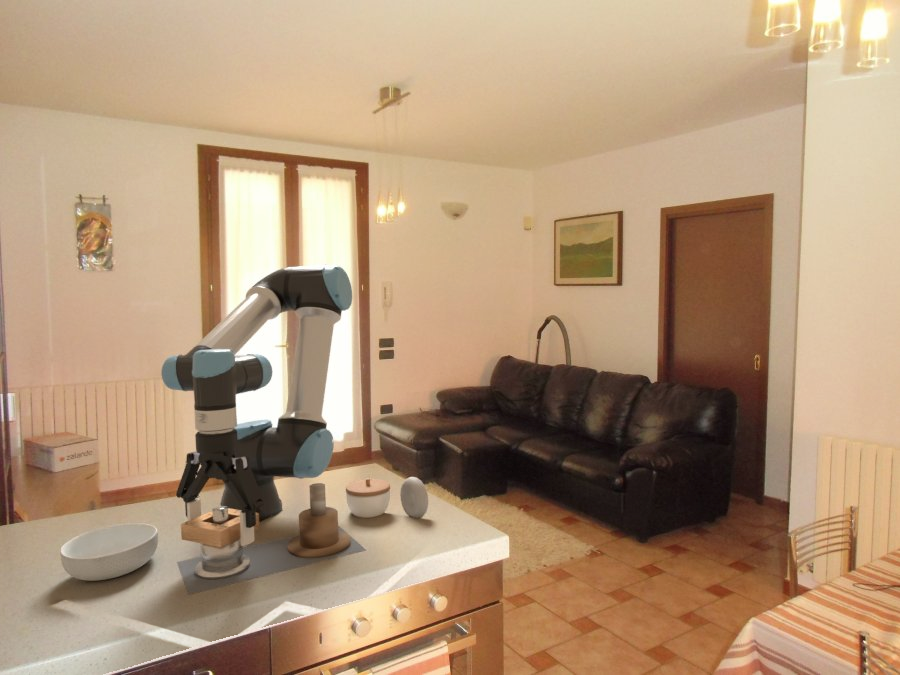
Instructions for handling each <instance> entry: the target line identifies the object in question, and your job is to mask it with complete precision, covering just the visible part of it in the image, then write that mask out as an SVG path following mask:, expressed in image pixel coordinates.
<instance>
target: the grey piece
mask: <svg viewBox="0 0 900 675" xmlns="http://www.w3.org/2000/svg"><path fill="white" fill-rule="evenodd" d="M399 494H400V502H401V506H402V508H403V511H404V513H405V514H406V515H407V516H408V517H409V518H415V519H421V518H423V517H424V516H425V514H426V513H427V511H428V509H429V495H428V490H427V488H426V486H425V483H423V481H422V480H421V479H419V478H418V477H415V476H410V477H408V478H405V479H404V481H403V482H402V483H401V487H400V492H399Z"/></svg>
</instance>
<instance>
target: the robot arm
mask: <svg viewBox="0 0 900 675" xmlns="http://www.w3.org/2000/svg"><path fill="white" fill-rule="evenodd" d="M351 284H352V283H351V280H350V277H349V276H348V274H347V272H346V271H345V269H344V268H343V267H341V266H339V265H328V264H323V265H310V266H309V265H308V266H307V265H306V266H288V267H281V268H280V269H278V270H275V271H273V272H271V273H269V274H268V275H266V276H265V277H263V278H262V279H260V280H258V281H257V282H256V283H255V284H253V285H252V286H251V287H250V288H249V289H248V290H247V291H246V294H245V298H244V300H242V301H241V302H240V303H239V304H238V305H237V306H236V307H235V308H234V309H232V311H231V312H229V314H227V315H226V316H225V317H224V318H223V319H222V320H221V321H220V322H219V323H218V324H217V325H216V326H215V327H213V329H212V330H211V331H209V332H208V333H207V334H206V335H205V336H204V337H203V338H202V339H201V340H200V341H199V342H198V343H197V344H196V345H194V346H193V347H192V348H191V349H190V350H189V351H188V352H187V353H185V354H184V355H183V354H177V355H171V356H169V357H168V358H166V359H165V360H164V362H163V364H162V367H161V372H160V373H161V374H160V375H161V379H162V381H163V383H164V385H165V387H167V388H168V389H170V390H174V391H183V392H193V398H194V400H193V401H194V404H193V406H194V426H195V427H194V428H195V430H196V431H197V432H196V433H195V435H194V436H195V451H192V452H188V453H186V462H185V463H186V464H185V466H184V470H183V473H182V476H181V478H180V481H179V485H178V487H177V490H176V494H175V495H176V497H177V498H179V499H180V498H181V499H183V500H182V501H183V502H184V504H185V505H184V507H185V508H184V509H185V516H186V518H187V521H189V520H192V519H194V518H196V517H199V516H201V515H202V506H201V504H202V502H201V499H200V496H199V494H201V492H202V490H203V489H204V487H205V486H206V484H207V483H208V481H209V480H210V479H216V480H219V481H220V480H222V482H223V483H224V489H223V493H222V496H221V500H220V501H221V502H220V506H227V507H228V508H230V509H236V510H242V511H240V531H241V546H243V547H246V546H249V544H251V543H253V542H255V531H254V526H255V525H256V513H259V523H261V522H264V521H265V520H268V519H269V518H271V517H273V516H275V515H278V514H279V513H281V512H283V511H284V510H283V502H282V499H281V498H280V496H279V492H278V489H277V487H276V484H275V477H281V478H295V479H300V480H301V479H314V478H315V479H316V478H318V477H319V476H321V475H322V474H323V473H324V472H325V471H326V469H327V468H328V466H329V464H330V462H331V459H332V456H333V452H334V444H335V443H334V441H333V440H334V436H333V434H332V432H331V431H330V430H328V428H327V425H328V424H327V422H326V420H325V419H324V418H323V406H324V401H325V400H324V399H325V394H326V387H327V386H326V384H327V380H328V379H327V378H328V372H329V362H330V355H331V349H332V348H331V347H332V341H333V334H334V327H335V324H336V323H338V322H339V321H340V320H341V319H342V312H343V311H347V310H349V309H350V307H351V306H352V301H353V289H352V285H351ZM291 311H293V312H294V315H296V316H297V318H298V320H299V325H298V331H297V335H296V336H297V338H296V344H295V350H294V357H293V361H292V362H293V364H292V370H291V376H290V377H291V378H290V384H289V390H288V396H287V397H288V398H287V404H286V409H285V413H284V414H282V415H280V417H278V420H277V426H276V427H274V426H273V423H272V421H271V420H270V419H257V420H251V421H247V422H243V423H238V418H237V417H238V416H237V399H236V398H237V395H239V394H245V393H248V392H252V391H253V392H255V391H257V390H259V389H262V388H264V387H266V386H267V385H268V384H269V383H270V382H271V381H272V377H273V367H272V364H271V362H270V360H269V359H268V358H267V357H266V356H265V355H262V354H258V353H257V354H256V353H255V354H254V353H252V354H249V353H248V354H246V355H237V354H238V352H239V351H240V350H241V349H242V348H243V347H244V346H245V344H247V343H248V342H249V341H250V340H251V339H252V337H253V336H255V335H256V333H258V331H259V330H260V329H261V328H262V327H263V326H264V325H265V324H266V323H267V322H268V321H269V320H270V321H271V320H273V319H275V318H277V317H278V316H279V315H280V314H282V313H285V312H291Z"/></svg>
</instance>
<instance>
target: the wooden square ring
mask: <svg viewBox="0 0 900 675" xmlns="http://www.w3.org/2000/svg"><path fill="white" fill-rule="evenodd" d="M240 511H242V510H236V509H230V508H228V520H229V521H228V522H226V523H223V524H221V525H219V524H213V511H212V510H211V511H209V512H206V513H204V514H201V516H199V517H196V518H194V519H192V520H189V521H188V520H187V521H185V522H182V523H181V524H180V532H181V533H180V535H181V540H183V541H187V542H193V543H196V544H201V543H202V544H207V545H212V546H217V547H223V546H225V545H227V544H229V543H231V542H233V541H235V540H237V539H239V538H241V531H240ZM258 529H260V522H259V513H256V525H255V526H254V532H255V531H256V530H258Z"/></svg>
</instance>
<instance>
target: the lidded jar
mask: <svg viewBox="0 0 900 675" xmlns="http://www.w3.org/2000/svg"><path fill="white" fill-rule="evenodd" d="M390 490H391V484H390V481H389V482H388V480H387V481H386V480H384V479H378V478H370V477H369V478H368V477H367V478H365V479H358V480H354V481H353V482H350V483H348V484H347V485H345V494H346V496H345V497H346V503H347V507H348V510H349V511H350V513H351V514H352V515H353V516H355V517H357V518H365V519H366V518H367V519H368V518H375V517H378V516H381V515H383V514H384V513H385V512H386V511H387V509H388V507H389V504H390V497H391V495H390V493H391V491H390Z"/></svg>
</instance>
